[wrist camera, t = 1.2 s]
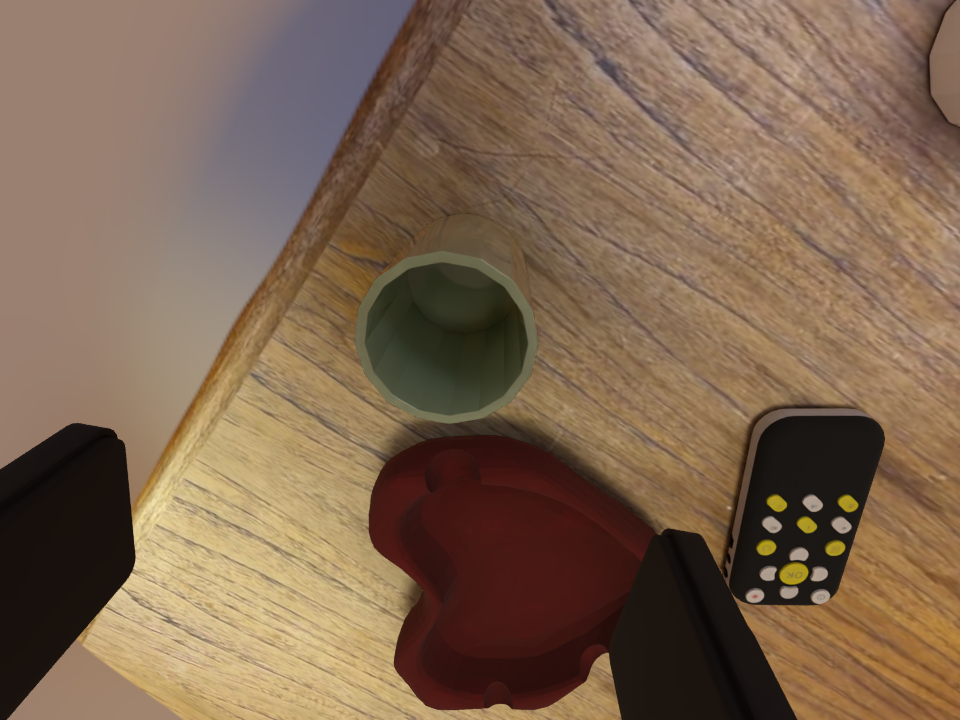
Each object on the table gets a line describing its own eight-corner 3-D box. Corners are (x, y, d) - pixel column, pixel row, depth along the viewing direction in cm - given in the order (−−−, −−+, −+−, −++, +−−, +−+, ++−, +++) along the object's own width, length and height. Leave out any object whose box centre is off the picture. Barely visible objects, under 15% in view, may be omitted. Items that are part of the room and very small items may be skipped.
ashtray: (654, 641, 35) (677, 718, 30) (413, 643, 36) (400, 717, 32) (675, 405, 28) (708, 458, 23) (376, 416, 29) (351, 469, 25)
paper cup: (412, 202, 25) (364, 235, 16) (539, 227, 25) (556, 273, 16) (396, 322, 27) (348, 406, 19) (512, 344, 27) (515, 436, 19)
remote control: (874, 404, 27) (900, 423, 26) (819, 585, 32) (838, 612, 31) (753, 404, 28) (770, 423, 26) (717, 584, 33) (730, 611, 31)
